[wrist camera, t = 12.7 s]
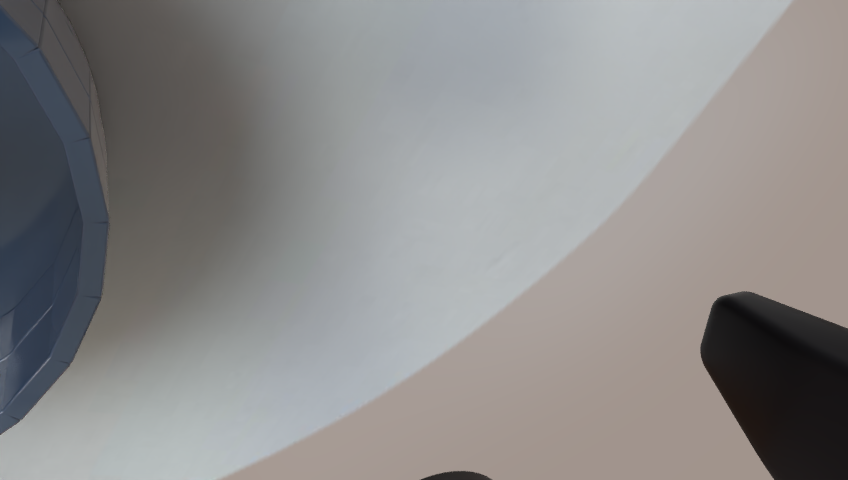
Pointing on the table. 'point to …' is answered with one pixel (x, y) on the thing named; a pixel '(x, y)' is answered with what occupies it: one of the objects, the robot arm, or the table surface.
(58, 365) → the bowl
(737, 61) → the table surface
